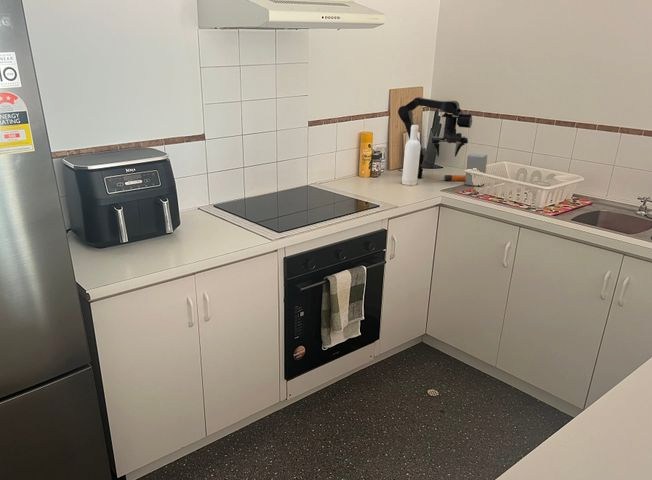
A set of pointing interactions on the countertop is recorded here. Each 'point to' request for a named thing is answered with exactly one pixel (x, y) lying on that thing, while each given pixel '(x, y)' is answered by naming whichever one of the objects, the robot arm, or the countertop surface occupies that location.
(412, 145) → the bottle
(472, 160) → the cosmetic box
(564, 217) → the countertop surface
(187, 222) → the countertop surface
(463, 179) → the orange marker
